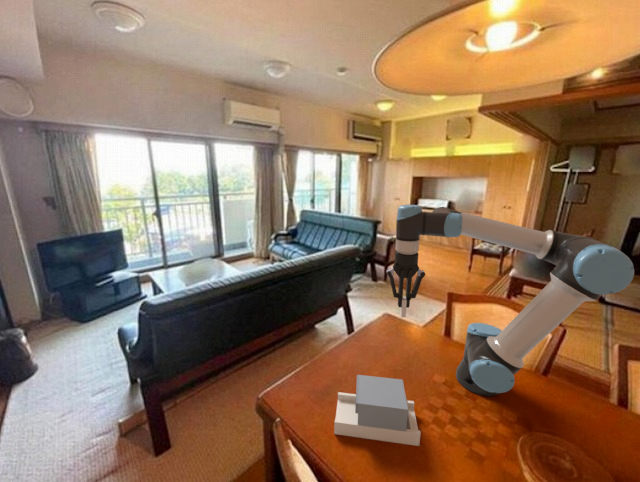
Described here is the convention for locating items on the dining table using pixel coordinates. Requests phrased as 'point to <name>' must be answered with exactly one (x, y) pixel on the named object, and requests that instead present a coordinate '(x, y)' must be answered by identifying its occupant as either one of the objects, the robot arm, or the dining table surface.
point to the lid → (381, 402)
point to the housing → (349, 426)
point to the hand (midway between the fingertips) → (402, 315)
